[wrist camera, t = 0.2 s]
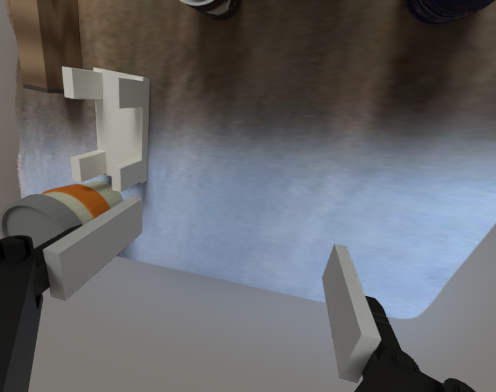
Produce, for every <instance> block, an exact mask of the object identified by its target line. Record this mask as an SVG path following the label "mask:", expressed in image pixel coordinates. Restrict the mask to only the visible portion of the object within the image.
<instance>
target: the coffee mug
mask: <svg viewBox="0 0 496 392" xmlns="http://www.w3.org/2000/svg"><path fill="white" fill-rule="evenodd" d="M180 1H181V2H183V3H185V4H186V5H188V6H190V7H192V8H194V9H196V10H198V11H200V12H201V13H203V14H205V15H207V16H209V17H211V18H213V19H215V20H226V19H228V18H230V17H231V16H233V15H234V14H235V13H236V11H237V10H238V8H239V6H240V4H241V1H242V0H180Z"/></svg>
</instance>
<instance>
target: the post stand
mask: <svg viewBox="0 0 496 392" xmlns="http://www.w3.org/2000/svg"><path fill="white" fill-rule="evenodd" d="M93 70H94V71H90V70H83V69H76V68H70V67H63V66H62V74H63V84H64V94H65V97H67V98H72V99H95V108H96V127H97V146H98V150H96V151H92V152H88V153H84V154H80V155H77V156H73V157H71V167H72V177H73V181H77V182H84V181H86V180H89V179H91V178H94V177H96V176H99V175H102V174H104V175H108V176H112V190H114V191H118V192H122V191H124V190H126V189H128V188H129V187H131V186H133V185H135V184H137V183H143V182H145V181H147V165H148V127H149V89H150V79H149V78H144V77H139V76H134V75H130V74H125V73H120V72H115V71H110V70H105V69H99V68H93Z"/></svg>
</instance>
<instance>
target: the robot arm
mask: <svg viewBox="0 0 496 392" xmlns="http://www.w3.org/2000/svg"><path fill="white" fill-rule="evenodd" d="M142 200H143V198H139V197H135V196H131V197H129V198H128V199H126V200H124V201H123V202H121V203H119V204H118V205H116V206H114V207H113V208H111V209H109V210H108V211H106V212H104V213H103V214H101V215H99V216H98V217H96V218H95V219H93V220H91V221H90V222H88V223H86V224H85V225H81V224H80V225H77V226H74V227H71V228H69V229H67V230H65V231H64V232H62V233H61V234H58V235H57V236H55V238H52V239H50V240H48V241H46V242H45V243H43V244H41V245H39V246H38V247H36V248H34V247H33V241H32V238H31V237H29V236H26V235H14V236H9V237H6V238H3V239H0V392H28V389H29V382H30V376H31V370H32V364H33V358H34V352H35V346H36V340H37V333H38V327H39V321H40V315H41V309H42V302H43V295H42V293H43V292H44V291H45V290H46V289H48V288H49V287H50V293H51V297H54V298H58V299H61V300H65V301H66V300H67V299H68V298H69V297H70V296H71V295H73V294H74V293H75V292H76V291H77V290H78V289H79V288H80V287H81V286H83V285H84V284H85V283H86V282H87V281H88V280H89V279H91V278H92V277H93V276H94V275H95V274H96V273H97V272H98V271H100V270H101V269H102V268H103V267H104V266H105V265H106V264H107V263H108V262H110V261H111V260H112V259H113V258H114V257H115V256H116V255H117V254H119V253H120V252H121V251H122V250H123V249H124V248H125V247H126V246H128V245H129V244H130V243H131V242H132V241H133V240H134V239H135V238H137V237H138V236H139V235H140V234H141V233H142ZM322 280H323V286H324V292H325V298H326V303H327V309H328V315H329V320H330V326H331V332H332V337H333V344H334V349H335V355H336V361H337V367H338V372H339V378H341V379H344V380H348V381H351V382H355V383H357V382H358V381H359V379H360V377H361V375H362V376H363V380H362V382H361V383H360V385H359V386H358V387H357V389H356V390H355V391H354V392H475V391H474V390H473V389H472V388H471V387H469V386H468V385H467V384H465V383H463V382H461V381H459V380H457V379H453V378H449V379H447V380H445V381H444V383H443V384H442V383H440V382H438V381H437V380H435V379H433V378H431V377H429V376H427V375H426V374H424V373H422V372H421V371H420V369H419V367H418V365H417V364H416V363H415V362H414V360H413V359H412V358H411V357H410V356H409V355H408V354H406V353H405V352H403V351H402V350H401V348H400V345H399V343H398V341H397V338H396V336H395V334H394V332H393V329H392V327H391V325H390V324H389V320H388V318H387V317H386V314H385V311H384V309H383V307H382V306H381V304H380V303H379V302H378V301H377V300H376V299H375V298H372V297H368V296H365V295H364V292H363V289H362V287H361V284H360V281H359V279H358V276H357V273H356V271H355V268H354V265H353V263H352V260H351V257H350V255H349V252H348V249H347V247H345V246H341V245H336V244H334V247H333V250H332V252H331V255H330V258H329V260H328V263H327V266H326V268H325V271H324V274H323V277H322Z"/></svg>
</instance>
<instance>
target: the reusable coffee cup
mask: <svg viewBox="0 0 496 392" xmlns="http://www.w3.org/2000/svg"><path fill="white" fill-rule="evenodd" d="M121 202H123V198H122V196H121V195H120V193H119V192H118V191H114V190H112V185H110V184H108V183H106V182H102V181H96V182H91V183H87V184H83V185H80V184H74V185H69V186H64V187H60V188H56V189H51V190H48V191H45V192H43V193H42V194H34V195H29V196H27V197H25V198H23V199H21V200H19V201H17V202H15V203H12V204H11V205H8V206H7V207H6V208H5V209H4V210H3V211H2V213H1V215H0V232H1V234H2V237H3V238H6V237H9V236H14V235H26V236H29V237H31V238H32V241H33V247H34V248H36V247H38V246H39V245H41V244H43V243H45V242H46V241H48V240H50V239H52V238H55V236H57V235H58V234H61V233H62V232H64V231H65V230H67V229H69V228H71V227H74V226H77V225H80V224H81V225H85V224H86V223H88V222H90V221H91V220H93V219H95V218H96V217H98V216H99V215H101V214H103V213H104V212H106V211H108V210H109V209H111V208H113V207H114V206H116V205H118V204H119V203H121Z"/></svg>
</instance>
